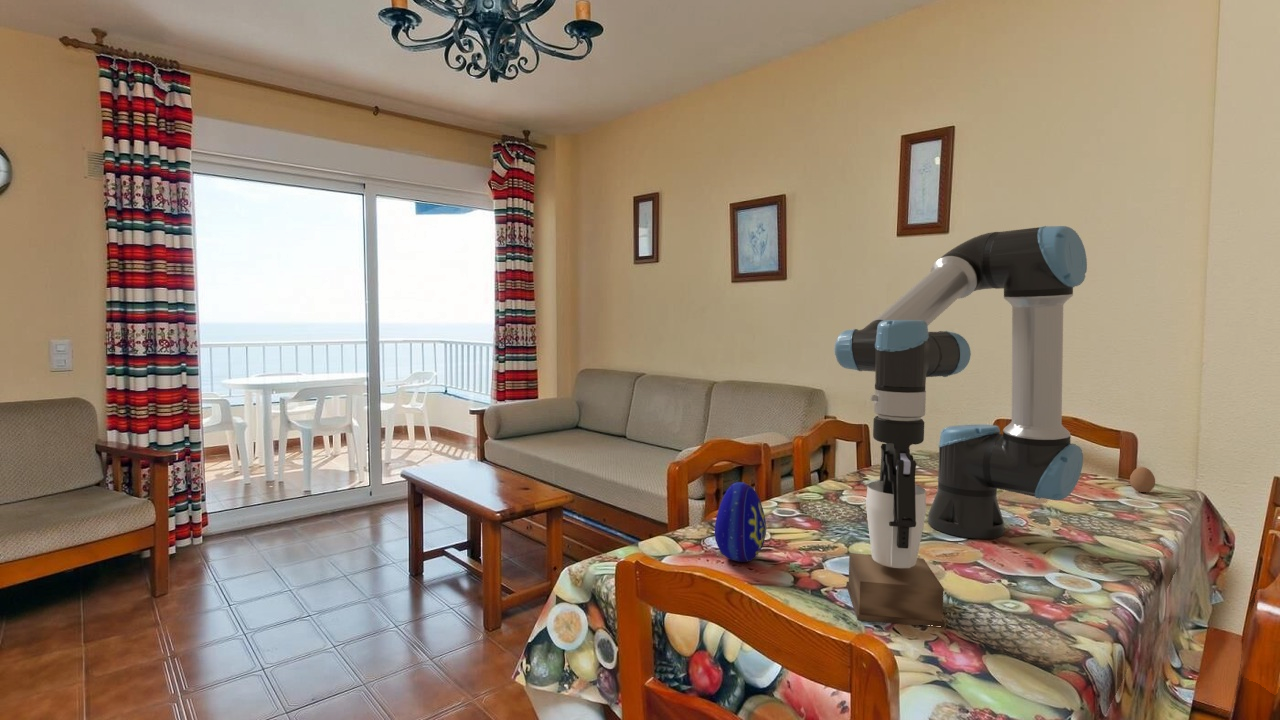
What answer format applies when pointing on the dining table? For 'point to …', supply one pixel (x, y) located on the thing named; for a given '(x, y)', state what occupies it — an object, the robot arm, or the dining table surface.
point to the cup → (883, 513)
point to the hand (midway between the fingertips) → (894, 555)
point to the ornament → (740, 523)
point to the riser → (894, 592)
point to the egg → (1142, 479)
